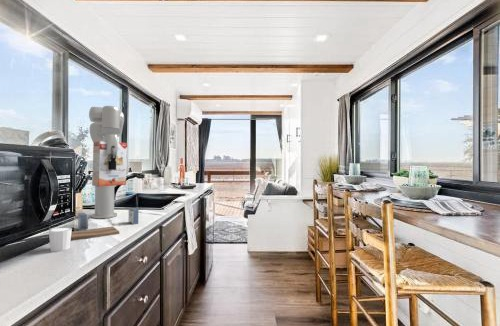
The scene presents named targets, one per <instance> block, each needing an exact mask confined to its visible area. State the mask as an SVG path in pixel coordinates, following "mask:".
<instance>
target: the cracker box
mask: <svg viewBox="0 0 500 326" xmlns="http://www.w3.org/2000/svg"><path fill="white" fill-rule="evenodd" d="M92 143H93V144H92V145H93V147H92V153H93V154H92V179H91V181H92V182H91V183H92V186H94V187H95V186H98V187H100V186H114V187H115V186H125V185H126V184H127V175H126V166H127V162H128V143H126V142H120V141H119V142H118V153H117V155H116V170H109V169H108V166H109V154H108V155H106V151H107V150H106V146H107V142H104V141H94V142H93V141H92ZM111 151H112V150H111ZM110 154H111V155H112V153H111V152H110Z"/></svg>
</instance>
